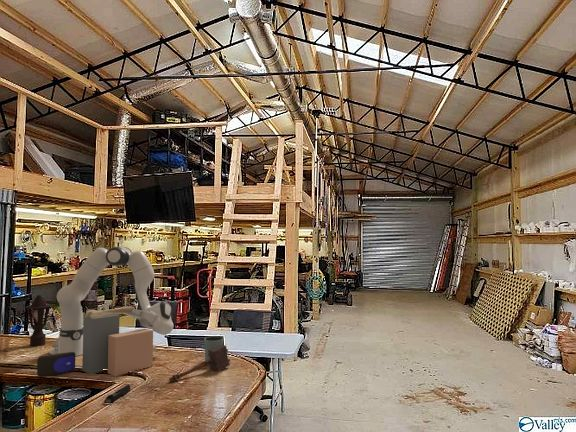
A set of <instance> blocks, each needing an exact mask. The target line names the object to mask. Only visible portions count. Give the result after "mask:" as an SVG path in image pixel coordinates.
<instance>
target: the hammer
mask: <svg viewBox="0 0 576 432" xmlns="http://www.w3.org/2000/svg"><path fill="white" fill-rule="evenodd" d="M208 352H209V353H208V356H210V360H209V361H208V362H204V363H202V364H199V365H197V366H195V367H193V368H191V369H188V370H186V371H183V372H182V373H176V374H173V375H171V377H170V378H168V382H169V383H171V382H177V381H178V380H179V379H180V378H183V377H185V376H187V375H190V374H192V373H194V372H196V371H199V370H201V369H202V368H205V367H206V366H209V367H210V370H213V371H216V372H220V371H222V370H223V369H225V368H227V367H228V366H230V365H231V364H230V362H231V359H230V358H228V352H229V349H228V348H227V345H224V344H223V345H221V344H219V345H217V346H215V347H213V348H211V349H209V350H208Z"/></svg>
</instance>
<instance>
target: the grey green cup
mask: <svg viewBox="0 0 576 432" xmlns="http://www.w3.org/2000/svg"><path fill="white" fill-rule="evenodd" d="M203 340H204V342H203V343H204V357H205V358H204V361H205V362H204V363H206V362H208V361H209V360H210V356H208V353H209V352H208V350H209V349H211V348H213V347H215V346H217V345H219V344H221V345H224V337H223V336H220V335H212V336H205V337H204V339H203Z"/></svg>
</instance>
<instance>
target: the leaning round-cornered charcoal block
mask: <svg viewBox="0 0 576 432" xmlns="http://www.w3.org/2000/svg"><path fill="white" fill-rule="evenodd" d="M36 361H37V365H36V375H37V376H38V377H41V378H42V377H54V376H55V377H56V376H60V375H61V376H62V375H66V374H68V373H72V372H74V371H75V369H76V356H75V353H74V352H67V353H59V354H52V355H51V354H45V355H41V356H38V357H37V360H36Z"/></svg>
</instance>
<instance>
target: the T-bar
mask: <svg viewBox="0 0 576 432" xmlns="http://www.w3.org/2000/svg"><path fill="white" fill-rule="evenodd" d="M124 307H125V308H124ZM124 307H119V308H118V307H117V308H112V309H105V310H98V309H97V310H96V309H91V310H86V314H85V315H86V316H85V317H88V318H92V319H95V318H101V317H103V316H110V315H122V314H123V315H124V314H125V313H131V310H132V308H134V309H136V308H135V306H124Z"/></svg>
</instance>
